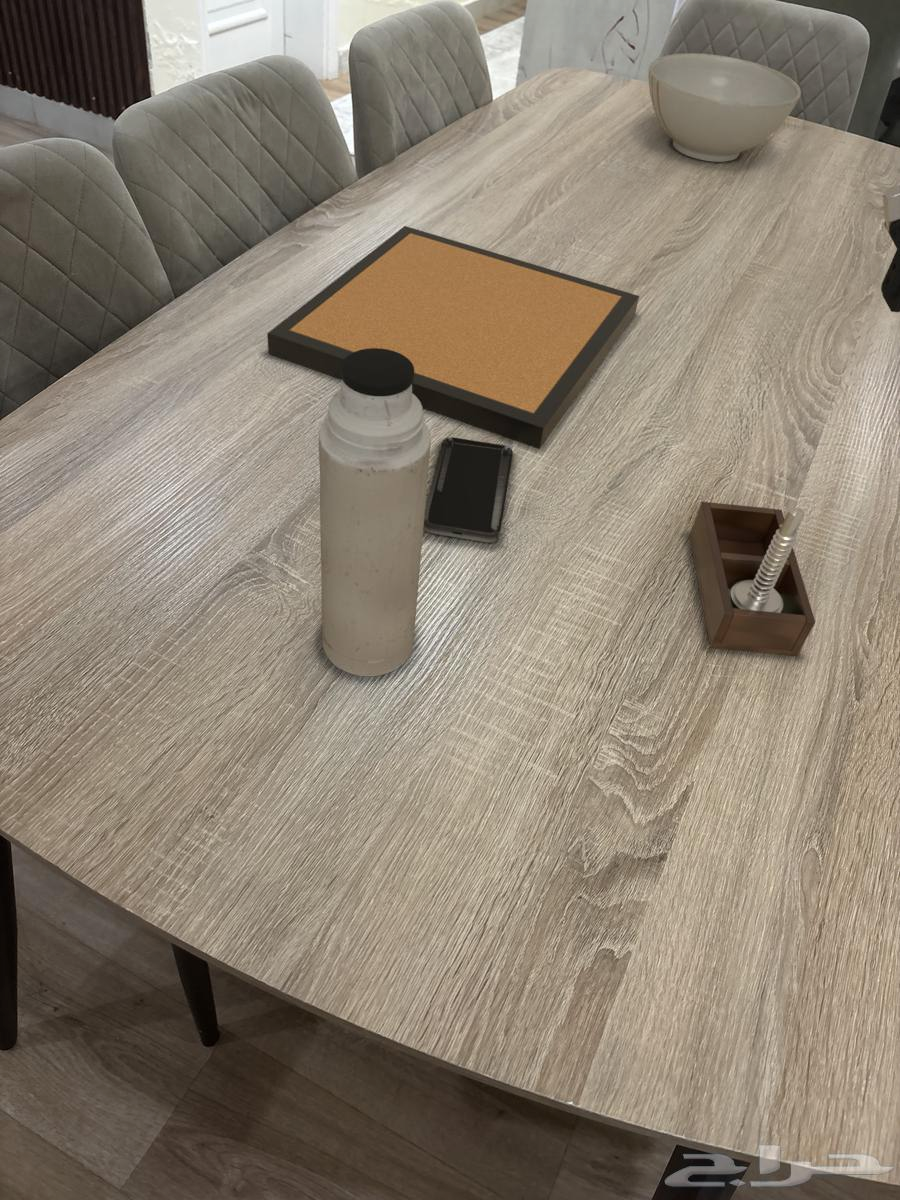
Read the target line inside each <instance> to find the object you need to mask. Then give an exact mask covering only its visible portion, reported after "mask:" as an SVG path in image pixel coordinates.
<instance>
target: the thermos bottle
mask: <svg viewBox="0 0 900 1200" xmlns="http://www.w3.org/2000/svg"><path fill="white" fill-rule="evenodd" d="M341 377H342V379H341V382H340V389H338V391H336V392H335V393H334V394H333V395H332V396H331V398H330V399H329V403H328V409H327V411H326V414H325V418H324V420H323V421H322V423H321V424H320V427H319V430H318V461H319V462H318V463H319V531H320V532H319V533H320V578H321V579H320V583H321V585H320V586H321V587H320V588H321V591H320V592H321V630H322V631H321V635H322V637H321V638H322V639H321V641H322V647H323V652H324V653H325V656H326V657H327V659H329V661H330V662H331V663H332V664H333V665H334V666H335V667H336V668H338V669H340V670H342V671H343V672H345V673H348V674H350V675H351V674H352V675H354V676H361V677H377V676H384V675H385V674H389V673H391V672H393V671H396V670H398V669H399V668H400V667H402V666H403V665H405V663H406V661H407V660H408V659H409V658H410V657H411V654H412V652H413V647H414V641H415V630H416V629H415V628H416V618H417V606H418V593H419V584H420V572H421V559H422V549H423V548H422V547H423V537H424V536H423V535H424V530H423V526H424V514H425V507H426V504H427V491H428V477H429V467H430V457H431V455H430V454H431V443H432V442H431V432H430V429H429V428H428V425H427V424H426V423H425V421H426V419H425V417H426V416H425V412H424V408H422V405H421V402H420V401H419V400H418V398H417V397H416V396H415V395H414V394H413V393H412V383H413V380H414V366H413V364H412V362H411V361H410V360H409V359H408V358H407V357H405V356H404V355H402V354H400V353H398V352H395V351H392V350H388V349H381V348H369V349H362V350H359V351H355V352H353V353H351V354H349V355H348V356H347V357H346V358H345V359H344V360H343V362H342V364H341Z"/></svg>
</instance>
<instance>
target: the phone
mask: <svg viewBox="0 0 900 1200" xmlns="http://www.w3.org/2000/svg"><path fill="white" fill-rule="evenodd" d="M513 455H514V451H513V448H512V447H509V446H507V445H504V444H497V443H491V442H486V441H485V442H484V441H478V440H472V439H468V438H467V439H466V438H460V437H453V436H449V437H446V438H444V439H443V440H442V442H441V445H440V449H439V452H438V455H437V458H436V459H437V460H436V463H435V467H434V473H433V476H432V480H431V485H430V488H429V492H428V496H427V499H426V503H425V514H424V526H423V532H425V533H427V534H430V535H433V536H441V537H446V538H452V539H458V540H463V541H464V540H465V541H472V542H478V543H482V544H494V543H496V542H498V540H499V539H500V535H501V529H502V522H503V518H504V510H505V504H506V498H507V491H508V486H509V480H510V474H511V468H512V461H513Z"/></svg>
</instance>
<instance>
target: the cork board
mask: <svg viewBox="0 0 900 1200" xmlns="http://www.w3.org/2000/svg"><path fill="white" fill-rule="evenodd" d="M639 299H640V295H638V294H634V293H630V292H628V291H624V290H621V289H617V288H614V287H611V286H608V285H604V284H601V283H597V282H595V281H591V280H588V279H584V278H581V277H578V276H574V275H570V274H568V273H564V272H560V271H557V270H554V269H550V268H548V267H544V266H540V265H537V264H534V263H530V262H527V261H523V260H520V259H517V258H513V257H511V256H508V255H503V254H500V253H497V252H493V251H491V250H487V249H483V248H480V247H477V246H473V245H470V244H467V243H463V242H460V241H458V240H454V239H450V238H446V237H443V236H440V235H437V234H433V233H431V232H426V231H423V230H420V229H417V228H413V227H409V226H406V225H404V226H403V227H401V228H400V229H399V230H397V231H396V232H395V233H394V234H393V235H391V236H389V238H387V239H385V241H383V242H382V243H381V244H379V245H378V246H377V247H376V248H374V249H373V250H372V251H371V252H370V253H368V254H367V255H366V256H364V257H363V258H362V259H361V260H359V261H358V262H357V263H355V264H354V265H353V266H352V267H350V268H349V269H348V270H346V271H344V273H342V275H340V276H339V277H337V278H336V279H335V280H334V281H332V282H330V284H329V285H328V286H326V287H325V288H324V289H322V290H321V291H319V292H318V293H317V294H316V295H314V296H313V297H312V298H310V299H309V300H308V301H306V302H305V303H304V304H303V305H302V306H300V307H299V308H298V309H297V310H295V311H294V312H293V313H292V314H290V315H289V316H288V317H286V318H285V319H284V320H282V321H281V322H279V323H278V324H277V325H276V326H275V327H274V328H272V329H271V330H270V331H269V332H267V334H266V335H267V349H268V351H267V352H268V355H271V356H274V357H276V358H279V359H282V360H285V361H288V362H291V363H293V364H296V365H299V366H301V367H304V368H308V369H311V370H313V371H316V372H319V373H321V374H324V375H328V376H330V377H333V378H337V379H339V380H342V377H341V364H342V362H343V360H344V359H345V358H346V357H347V356H348V355H349V354H351V353H353V352H355V351H359V350H362V349H369V348H381V349H388V350H392V351H395V352H398V353H400V354H402V355H404V356H405V357H407V358H408V359H409V360H410V361H411V362H412V364H413V366H414V380H413V383H412V393H413V394H414V395H415V396H416V397H417V398H418V400H419V401H420V402H421V405H422V408H423V410H424V409H425V410H427V411H430V412H434V413H436V414H439V415H442V416H444V417H448V418H450V419H453V420H456V421H459V422H461V423H464V424H466V425H467V424H468V425H470V426H472V427H476V428H479V429H481V430H484V431H486V432H490V433H493V434H496V435H499V436H501V437H505V438H507V439H510V440H512V441H516V442H518V443H522V444H524V445H527V446H530V447H533V448H535V449H539V450H540V449H541V448H542V446H543V444H545V442H546V441H547V439H548V438H549V436H550V435H551V434H552V432H553V431H554V430H555V428H556V427H557V425H558V424H559V422H561V420H562V418H563V417H564V415H565V414H566V413H567V411H568V410H569V408H570V407H571V405H572V404H573V403H574V401H575V400H576V398H577V397H578V396H579V395H580V393H581V391H582V390H583V388H584V387H585V386H586V384H587V383H588V382H589V380H590V379H591V378H592V376H593V375H594V373H595V372H596V370H597V369H598V368H599V366H600V365H601V363H602V362H603V360H605V358H606V356H607V355H608V353H609V352H610V351H611V350H612V348H613V346H614V345H615V344H616V342H617V341H618V339H619V338H620V336H621V335H622V334H623V333H624V331H625V329H627V327H628V325H629V324H630V323H631V321H632V319H633V318H634V317H635V316H636V311H637V308H638V303H639Z"/></svg>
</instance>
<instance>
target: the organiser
mask: <svg viewBox="0 0 900 1200" xmlns="http://www.w3.org/2000/svg"><path fill="white" fill-rule="evenodd" d="M784 520H785V517H784V513H783V510H782V509H778V508H769V507H761V506H750V505H740V504H739V505H738V504H730V503H720V502H712V501H711V502H709V501H701V503H700V504H699V507H698V511H697V513H696V516H695V519H694V522H693V525H692V527H691V530H690V532H689V541H690V542H689V543H690V547H691V551H692V558H693V563H694V567H695V573H696V578H697V579H696V580H697V584H698V589H699V594H700V600H701V606H702V610H703V615H704V622H705V626H706V632H707V637H708V642H709V648H711V649H720V650H721V649H722V650H732V651H741V652H742V651H743V652H751V653H752V652H753V653H760V654H771V655H782V656H783V655H784V656H793V657H798V656H799V655H800V652H801V651H802V648H803V646H804V645H805V643H806V641H807V639H808V637H809V636H810V633H811V631H812V630H813V628H814V626H815V624H816V619H815V617H814V613H813V609H812V606H811V604H810V600H809V599H810V598H809V597H808V593H807V590H806V586H805V583H804V580H803V576H802V573H801V569H800V567H799V563H798V560H797V556H796V553H795V550H794V547H793V548H792V549H791V552H790V553H789V557H788V558H787V560H786V563H785V564H784V567H783V568H782V571H781V573H780V576H779V577H778V579H777V582H776V583H775V586H774V587H773V588H774V589H775V590H776V591H777V592H778V593H779V595H780V596H781V598H782V600H783V609H782V611H781V613H776V612H766V611H756V610H746V609H736V608H735V607H734V605H733V604H732V602H731V599H730V591H731V589H732V587H733V586H734V585H735V584H736V583H737V582H740V581H744V580H754V579H755V578H756V574H757V573H758V569H760V565H761V564H762V560H763V559H764V556H765V555H766V554H767V553H766V551H767V550H768V549H769V545H770V544H771V540H773V536H774V535H775V534H776V530H777V529H780V528H781V527H780V525H781V524H783V522H784Z"/></svg>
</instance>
